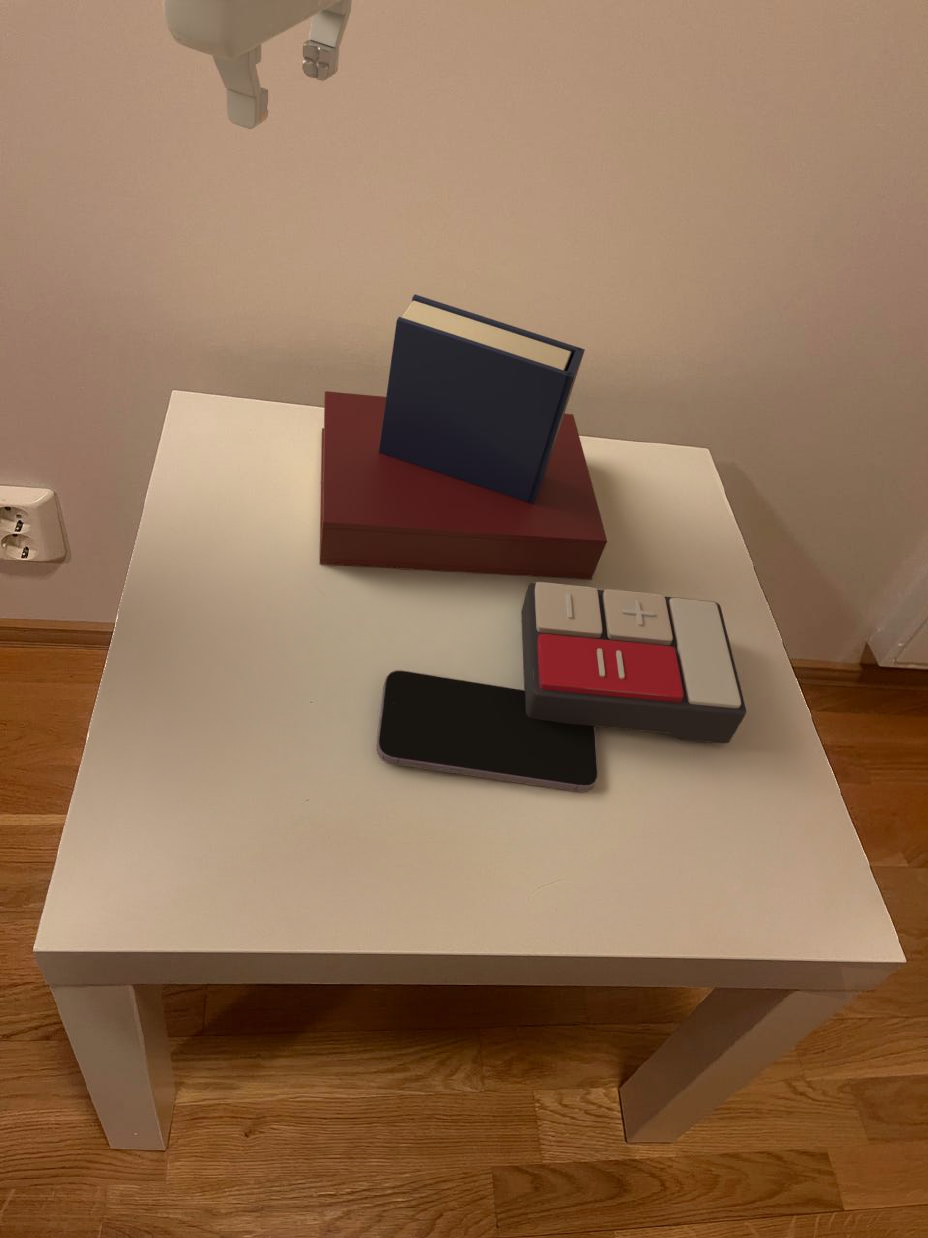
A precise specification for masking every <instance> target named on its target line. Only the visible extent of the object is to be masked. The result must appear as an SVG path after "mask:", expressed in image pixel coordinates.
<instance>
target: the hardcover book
mask: <svg viewBox="0 0 928 1238" xmlns="http://www.w3.org/2000/svg"><path fill="white" fill-rule="evenodd" d="M585 351H586V349H585V348H583V347H579V346H576V345H573V344H570V343H566V342H563V341H561V340H558V339H555V338H551V337H548V336H545V335H542V334H539V333H535V332H533V331H529V330H527V329H524V328H520V327H517V326H514V325H511V324H509V323H505V322H502V321H498V320H496V319H492V318H490V317H488V316H487V317H486V316H483V315H479V314H478V313H474V312H471V311H468V310H465V309H462V308H459V307H456V306H453V305H449V304H446V303H444V302H440V301H437V300H434V299H431V298H428V297H424V296H422V295H418V294H413V296H412V299H411V303H410V305H409V306H408V308H407V309H406V311H405V312H404V313H403V315H402V316H398V317H397V319H396V321H395V330H394V337H393V344H392V351H391V358H390V366H389V374H388V379H387V380H388V381H387V387H386V396H385V397H386V402H385V409H384V417H383V424H382V431H381V439H380V446H379V453H382V454H385V455H388V456H391V457H394V458H397V459H400V460H403V461H406V462H409V463H412V464H415V465H418V466H421V467H424V468H427V469H430V470H433V471H436V472H438V473H441V474H444V475H447V476H450V477H453V478H456V479H459V480H462V481H465V482H468V483H471V484H474V485H477V486H480V487H483V488H486V489H489V490H492V491H495V492H498V493H501V494H504V495H507V496H510V497H513V498H516V499H519V500H522V501H525V502H528V503H531V504H534V503H535V500H536V498H537V495H538V492H539V490H540V487H541V484H542V482H543V479H544V476H545V474H546V470H547V467H548V464H549V461H550V458H551V455H552V452H553V448H554V445H555V442H556V439H557V436H558V433H559V430H560V426H561V423H562V420H563V417H564V414H566V411H567V407H568V404H569V401H570V398H571V395H572V391H573V388H574V385H575V382H576V379H577V376H578V372H579V370H580V366H581V364H582V361H583V358H584V354H585Z"/></svg>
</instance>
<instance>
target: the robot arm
mask: <svg viewBox="0 0 928 1238" xmlns="http://www.w3.org/2000/svg"><path fill="white" fill-rule="evenodd" d="M352 1H353V0H162V12H163V13H162V14H163V19H164V22H165V25H166V26H167V29H168V30H169V33H170V35H171V36H172V38H173V40H174V41H175V42H176V43H177V44H179V45H181V46H183V47H186V48H188V49H192V50H194V51H197V52H199V53H202V54H205V55H209V56H212V59H213V62H214V65H215V66H216V69H217V71H218V74H219V76H220V79H221V81H222V83H223V86H224V88H225V90H226V116H227V118H228V120H229V121H230V122H231V123H232V124H234V125H237V126H239V127H242V128H245V129H248V130H253V129H254V128H256V127H258V126H259V125H261V124H262V123H264V122H265V121H266V120H267V118H268V117H269V110H268V105H269V89H267V88H264V87H261V83H260V79H259V73H258V69H257V65H258V64H260V63H261V62H262V45H263V44H265V43H266V42H268V41H270V40H271V39H273V38H275V37H277V36H279V35H281V34H282V33H284V32H286V31H289V30H290V29H292V28H294V27H295V26H297V25H299V24H301V23H303V22H305V21H306V20H308V19H311V22H310V28H309V35H308V40H306V41H304V42H303V43H302V57H303V59H302V67H301V68H302V71H303V73H304V75H306V77H308V78H313V79H316V80H318V81H320V82H324V81H326V80H328V79H329V78H331V77H333V76H334V75H336V74H337V72H338V69H339V58H340V57H339V56H340V45H341V44H342V42H343V41H342V40H343V37H344V34H345V31H346V28H347V25H348V22H349V18H350V15H351V12H352Z"/></svg>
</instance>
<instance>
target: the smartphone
mask: <svg viewBox="0 0 928 1238" xmlns="http://www.w3.org/2000/svg"><path fill="white" fill-rule="evenodd" d="M378 721H379V722H378V730H377V736H376V743H375V744H376V746H375V749H376V754H377V755H378V757H379V758H380V759H381V760H382V761H383V762H385V763H387V764H391V765H398V766H402V767H403V766H404V767H410V768H417V769H423V770H424V769H426V770H431V771H437V772H443V773H451V774H457V775H463V776H464V775H465V776H470V777H471V776H472V777H478V778H485V779H490V780H498V781H504V782H511V783H520V784H524V785H532V786H537V787H545V788H552V789H559V790H565V791H572V792H580V793H581V792H582V793H584V792H589V791H591V790H592V789H593V788H594V786H595V785H596V783H597V782H598V779H599V766H598V752H597V751H598V750H597V749H598V748H597V736H596V735H597V734H596V726H587V725H576V724H567V723H560V722H553V721H546V720H539V719H533V718H530V717H528V716H527V714H526V701H525V690H524V689H520V688H514V687H507V686H501V685H494V684H490V683H489V684H488V683H483V682H476V681H470V680H463V679H457V678H451V677H445V676H439V675H434V674H427V673H420V672H415V671H408V670H401V669H400V670H393V671H391V672H389V673H388V674H387V675H386V677H385V679H384V683H383V688H382V696H381V704H380V710H379V720H378Z"/></svg>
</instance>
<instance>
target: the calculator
mask: <svg viewBox="0 0 928 1238" xmlns="http://www.w3.org/2000/svg"><path fill="white" fill-rule="evenodd" d="M521 635H522V637H521V638H522V661H523V665H522V667H523V690H525V701H526V714H527V716H528V717H530V718H533V719H539V720H546V721H553V722H560V723H567V724H576V725H587V726H595V727H598V728H599V727H600V728H610V729H611V728H612V729H621V730H630V731H640V732H641V731H643V732H651V733H652V732H653V733H665V734H670V735H672V736H674V737H676V738H677V739H680V740H682V741H683V740H684V741H694V742H704V743H716V744H729V743H730V742H731V741H732V739H733V737H734V735H735V734H736V732H737V730H738V729H739V727H740V725H741V723H742V721H743V720H744V718H745V716H746V715H747V706H746V703H745V698H744V694H743V691H742V686H741V683H740V682H741V681H740V679H739V675H738V671H737V667H736V662H735V658H734V654H733V650H732V647H731V642H730V639H729V634H728V631H727V627H726V623H725V619H724V615H723V611H722V607H721V605H720V603H719V602H717V601H714V600H713V601H712V600H703V599H694V598H684V597H674V596H665V595H663V594H658V593H657V594H656V593H651V592H639V591H630V590H619V589H610V588H606V589H598V588H595V587H591V586H583V585H572V584H563V583H553V582H544V581H537V582H529V583H528V585H527V587H526V590H525V595H524V598H523V603H522V606H521Z"/></svg>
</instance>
